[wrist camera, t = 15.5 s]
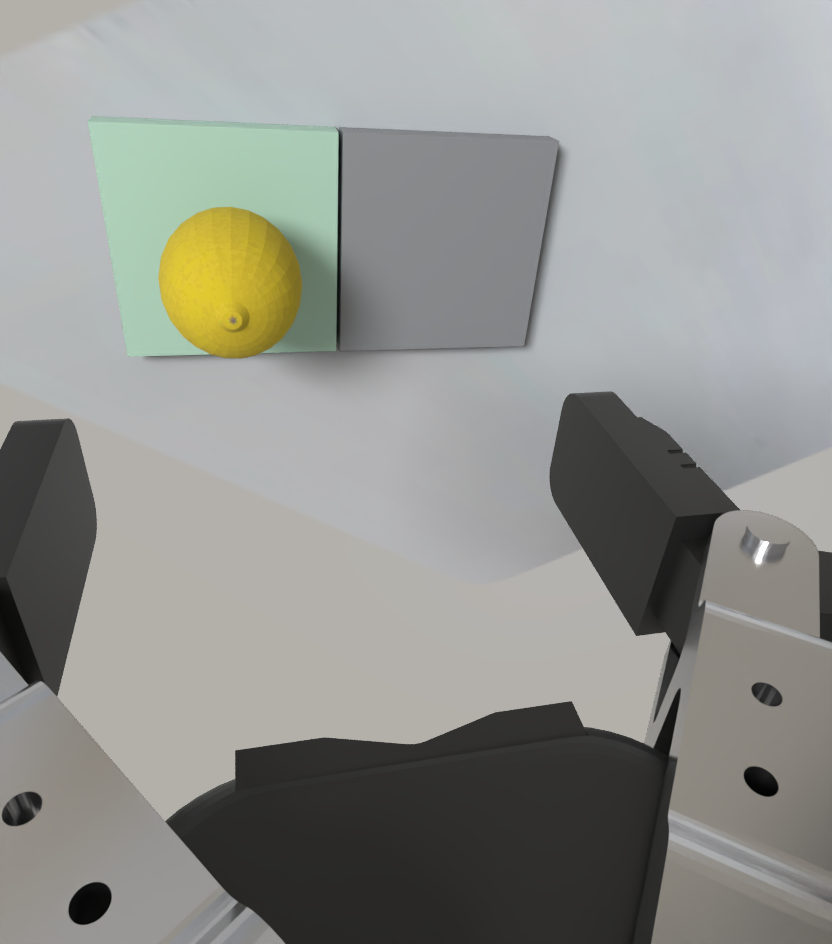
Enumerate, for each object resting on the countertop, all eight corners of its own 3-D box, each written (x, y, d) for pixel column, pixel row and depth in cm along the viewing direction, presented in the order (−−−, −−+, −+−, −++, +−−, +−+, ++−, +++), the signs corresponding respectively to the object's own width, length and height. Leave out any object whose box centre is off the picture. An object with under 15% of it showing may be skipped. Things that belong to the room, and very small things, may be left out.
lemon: (306, 297, 33) (324, 373, 27) (188, 321, 33) (179, 404, 26) (278, 174, 30) (291, 228, 24) (147, 199, 30) (125, 260, 23)
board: (549, 136, 33) (559, 141, 32) (516, 336, 38) (524, 346, 38) (92, 116, 28) (87, 121, 28) (130, 345, 34) (127, 356, 33)
